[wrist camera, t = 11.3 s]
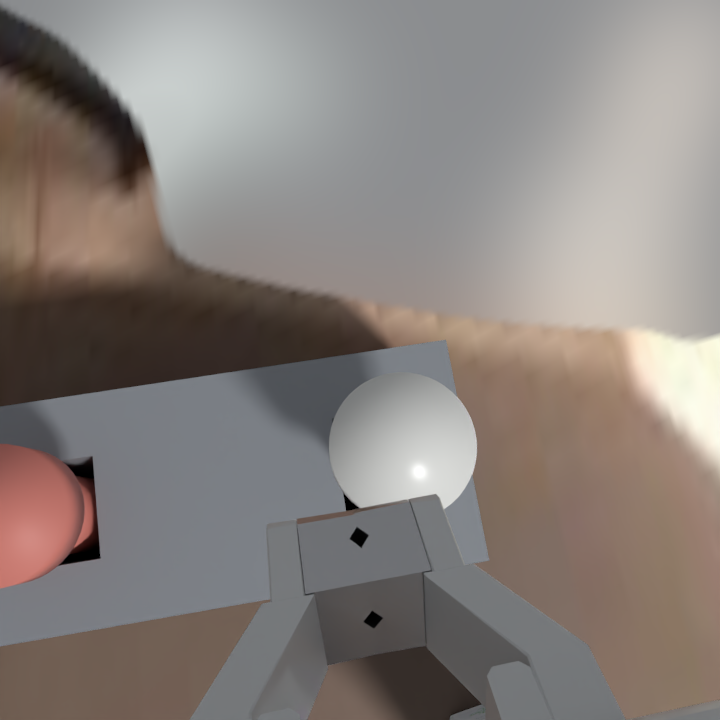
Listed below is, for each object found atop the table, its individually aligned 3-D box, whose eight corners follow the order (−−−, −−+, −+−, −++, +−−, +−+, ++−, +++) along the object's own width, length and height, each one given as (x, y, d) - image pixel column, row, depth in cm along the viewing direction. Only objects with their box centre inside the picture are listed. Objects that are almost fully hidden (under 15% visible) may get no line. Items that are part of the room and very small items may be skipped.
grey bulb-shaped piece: (338, 524, 36) (341, 533, 23) (323, 430, 38) (318, 383, 24) (431, 509, 37) (490, 507, 23) (414, 415, 38) (461, 362, 24)
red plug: (70, 569, 37) (-81, 602, 24) (63, 475, 38) (-84, 455, 25) (164, 553, 38) (70, 576, 24) (155, 460, 39) (60, 433, 25)
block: (58, 616, 37) (-38, 652, 28) (47, 437, 39) (-47, 413, 30) (449, 548, 39) (489, 560, 29) (419, 380, 41) (445, 340, 31)
